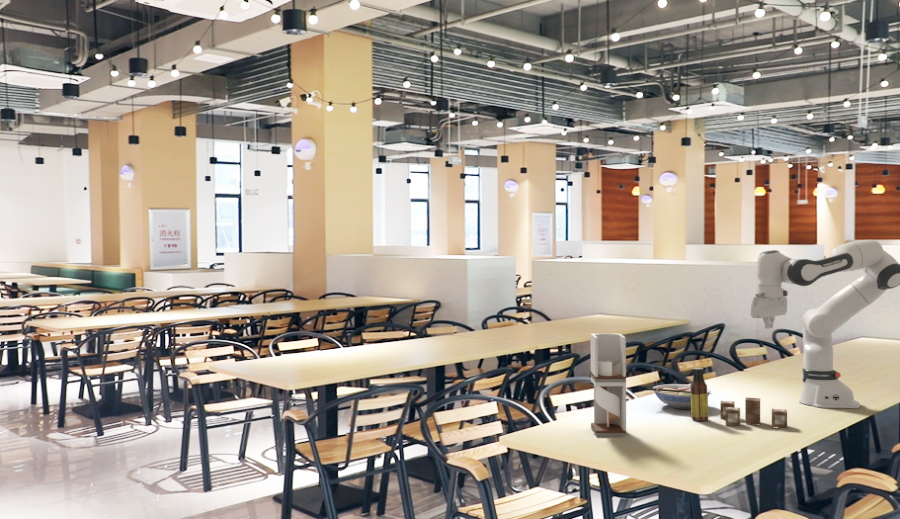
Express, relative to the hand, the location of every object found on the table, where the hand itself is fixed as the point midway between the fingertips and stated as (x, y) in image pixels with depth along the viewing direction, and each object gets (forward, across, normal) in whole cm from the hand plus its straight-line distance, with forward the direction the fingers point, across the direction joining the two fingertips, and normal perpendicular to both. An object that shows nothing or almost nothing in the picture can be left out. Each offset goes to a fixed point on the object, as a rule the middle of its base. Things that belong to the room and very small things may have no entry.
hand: (768, 328), depth 301 cm
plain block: (+34, -15, -2) cm, 37 cm away
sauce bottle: (+34, -26, +13) cm, 45 cm away
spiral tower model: (+34, -66, +23) cm, 78 cm away
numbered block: (+34, -13, -12) cm, 38 cm away
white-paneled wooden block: (+34, -23, +1) cm, 41 cm away
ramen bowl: (+34, -12, +31) cm, 48 cm away
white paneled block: (+34, -15, +8) cm, 38 cm away
